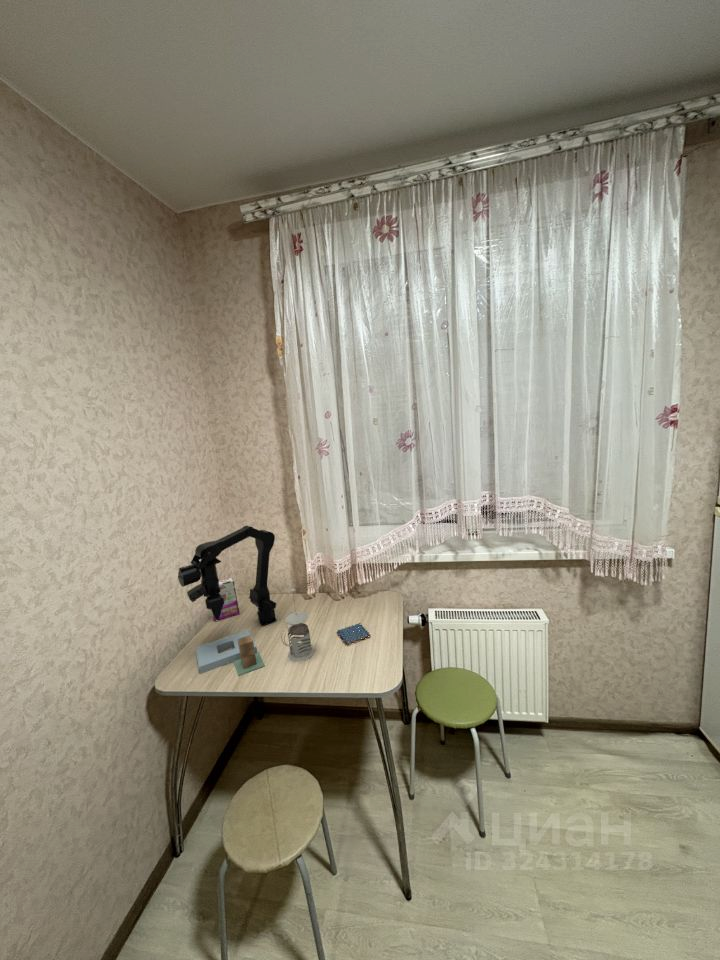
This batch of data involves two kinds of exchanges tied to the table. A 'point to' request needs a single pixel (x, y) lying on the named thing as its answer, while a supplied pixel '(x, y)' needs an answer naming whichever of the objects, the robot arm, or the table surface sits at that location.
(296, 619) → the french press
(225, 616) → the candy bar box
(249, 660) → the walnut block
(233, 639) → the pocket board
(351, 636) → the woven mat
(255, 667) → the green pad
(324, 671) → the table surface
